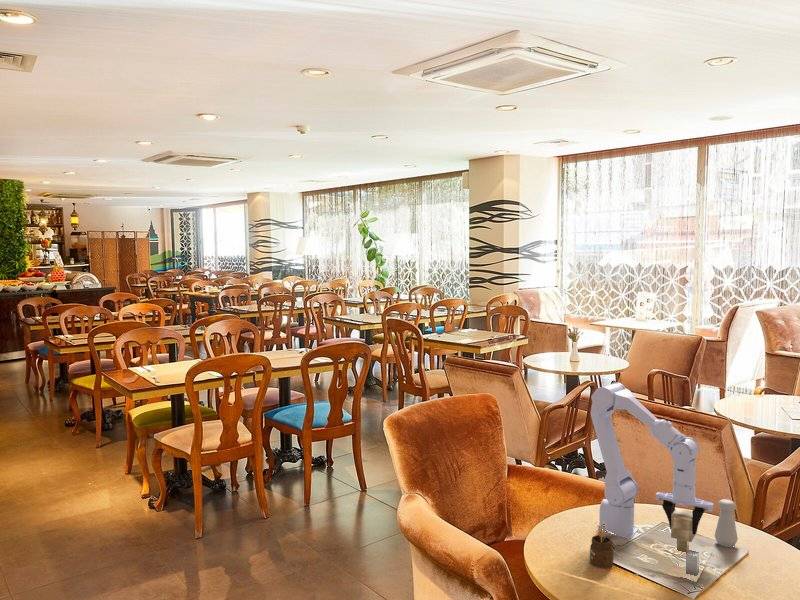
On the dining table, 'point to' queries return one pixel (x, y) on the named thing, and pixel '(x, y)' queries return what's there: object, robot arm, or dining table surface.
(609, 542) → the utensil holder
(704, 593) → the dining table surface
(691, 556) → the steel post
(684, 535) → the wood block
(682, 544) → the brass post
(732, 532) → the salt shaker
